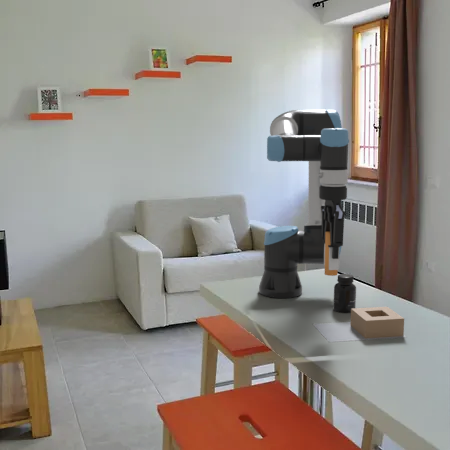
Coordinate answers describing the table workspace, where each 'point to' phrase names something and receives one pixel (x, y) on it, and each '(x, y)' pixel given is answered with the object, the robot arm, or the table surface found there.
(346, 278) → the supplement bottle
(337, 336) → the socket board
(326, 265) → the peg
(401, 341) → the table surface
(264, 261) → the robot arm
